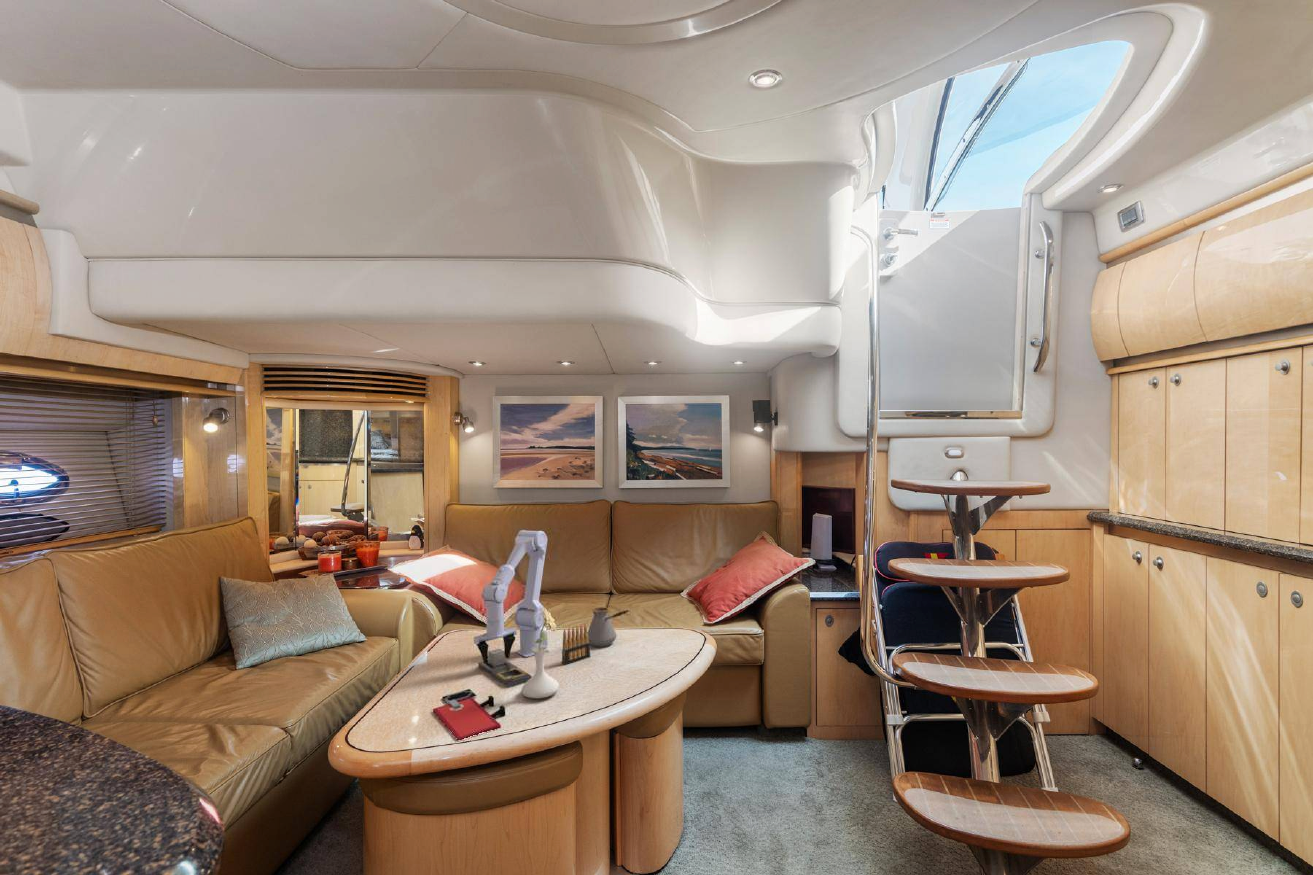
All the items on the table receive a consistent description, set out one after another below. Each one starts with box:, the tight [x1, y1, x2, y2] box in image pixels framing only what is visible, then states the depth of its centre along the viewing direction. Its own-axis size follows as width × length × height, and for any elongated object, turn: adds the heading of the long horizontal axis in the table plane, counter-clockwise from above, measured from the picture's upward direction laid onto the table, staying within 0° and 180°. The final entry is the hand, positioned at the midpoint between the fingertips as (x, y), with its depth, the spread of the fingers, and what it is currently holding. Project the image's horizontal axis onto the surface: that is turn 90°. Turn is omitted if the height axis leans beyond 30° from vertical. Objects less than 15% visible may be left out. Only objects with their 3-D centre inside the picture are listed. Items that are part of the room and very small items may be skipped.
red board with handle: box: [432, 688, 506, 741], centre depth 170 cm, size 30×3×15 cm
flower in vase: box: [521, 607, 561, 699], centre depth 182 cm, size 13×11×25 cm
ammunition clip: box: [561, 622, 591, 666], centre depth 209 cm, size 11×2×12 cm, turn 133°
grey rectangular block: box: [488, 648, 505, 668], centre depth 203 cm, size 4×4×6 cm
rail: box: [477, 658, 533, 689], centre depth 199 cm, size 8×24×2 cm, turn 38°
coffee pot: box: [587, 606, 632, 648], centre depth 223 cm, size 21×12×15 cm, turn 47°
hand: (496, 660), depth 203 cm, fingers open, 7 cm apart
